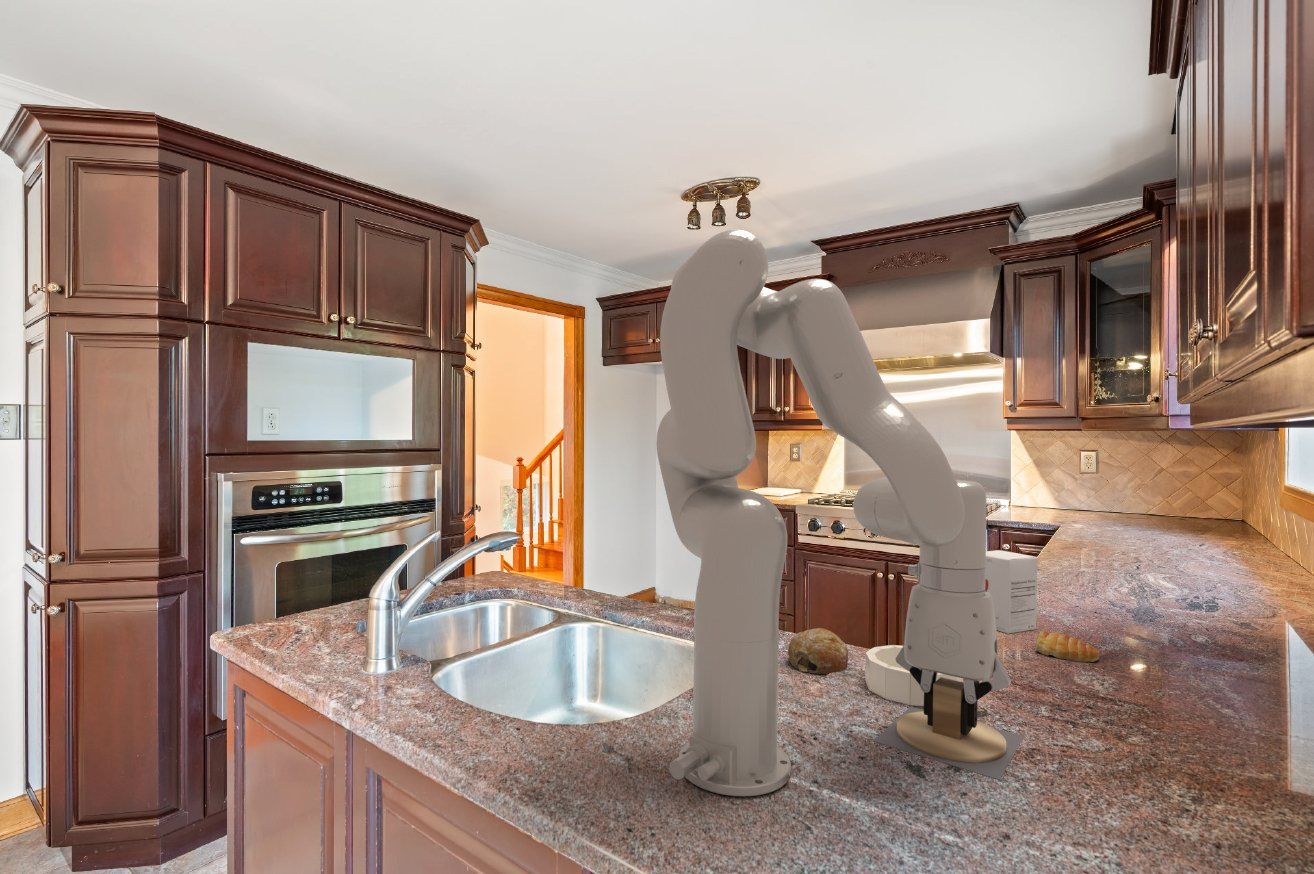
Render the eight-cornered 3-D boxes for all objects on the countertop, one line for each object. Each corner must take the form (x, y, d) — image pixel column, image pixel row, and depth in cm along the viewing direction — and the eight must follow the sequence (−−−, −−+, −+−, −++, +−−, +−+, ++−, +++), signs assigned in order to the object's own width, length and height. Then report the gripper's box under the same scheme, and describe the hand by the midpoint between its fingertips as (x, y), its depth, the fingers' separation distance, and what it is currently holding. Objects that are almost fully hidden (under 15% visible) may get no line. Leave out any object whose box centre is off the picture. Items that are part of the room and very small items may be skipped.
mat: (999, 785, 71) (999, 779, 71) (873, 745, 80) (873, 740, 80) (1024, 740, 82) (1024, 736, 82) (910, 710, 91) (910, 706, 91)
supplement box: (969, 622, 137) (969, 551, 137) (998, 618, 141) (998, 549, 141) (1008, 634, 129) (1009, 558, 129) (1038, 629, 133) (1038, 556, 133)
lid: (993, 774, 72) (994, 712, 72) (882, 740, 80) (883, 685, 80) (1015, 736, 82) (1016, 682, 82) (914, 709, 90) (915, 660, 90)
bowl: (945, 718, 88) (946, 681, 88) (853, 693, 97) (853, 660, 97) (970, 691, 98) (970, 657, 99) (884, 670, 107) (884, 640, 107)
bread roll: (783, 687, 109) (778, 649, 106) (799, 646, 117) (794, 609, 114) (843, 699, 104) (839, 659, 101) (855, 655, 112) (852, 617, 109)
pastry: (1102, 658, 116) (1102, 636, 116) (1095, 667, 111) (1095, 645, 111) (1041, 646, 122) (1042, 626, 122) (1033, 655, 117) (1033, 634, 117)
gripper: (875, 574, 83) (873, 718, 83) (1020, 594, 73) (1018, 759, 73) (895, 566, 89) (893, 700, 89) (1032, 584, 79) (1030, 736, 79)
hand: (949, 725), depth 81 cm, fingers closed on lid, 3 cm apart
